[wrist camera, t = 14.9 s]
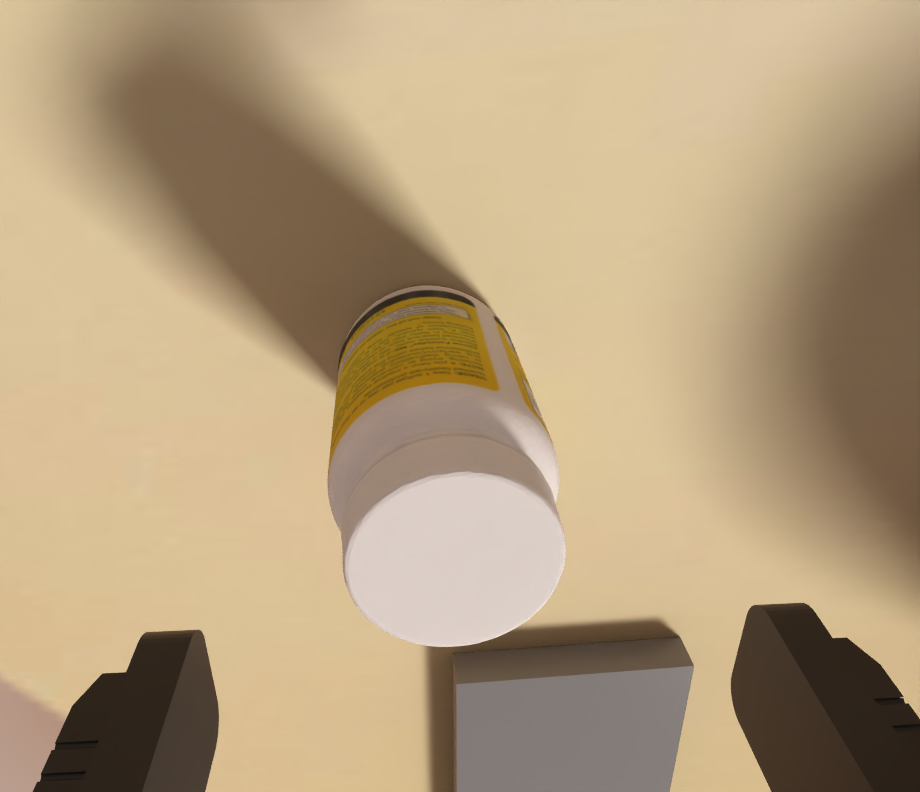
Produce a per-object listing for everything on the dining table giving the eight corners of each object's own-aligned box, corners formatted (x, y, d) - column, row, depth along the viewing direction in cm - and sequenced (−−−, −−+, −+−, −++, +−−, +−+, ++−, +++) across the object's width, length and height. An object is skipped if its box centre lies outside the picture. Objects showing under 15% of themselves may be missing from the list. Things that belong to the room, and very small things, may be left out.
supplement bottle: (305, 380, 20) (262, 591, 13) (410, 245, 19) (430, 396, 12) (443, 466, 22) (474, 698, 15) (549, 348, 21) (643, 539, 13)
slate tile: (456, 684, 24) (457, 868, 29) (693, 665, 25) (658, 848, 30) (451, 644, 26) (453, 825, 31) (675, 627, 27) (644, 807, 31)
